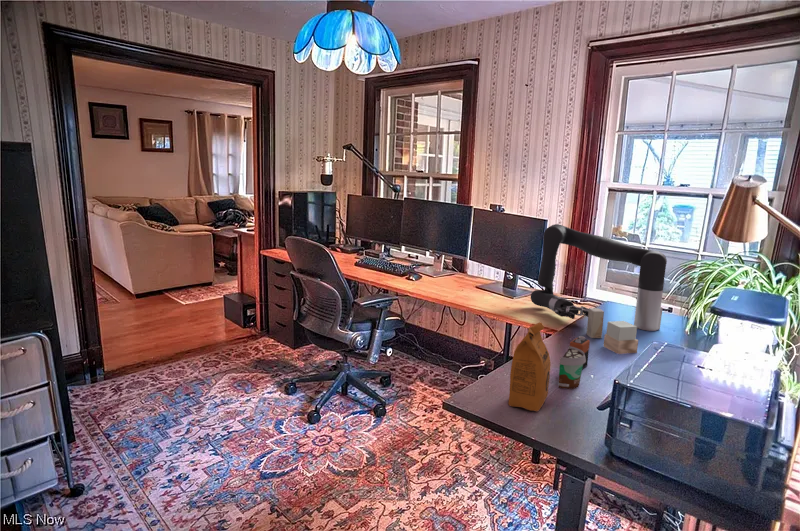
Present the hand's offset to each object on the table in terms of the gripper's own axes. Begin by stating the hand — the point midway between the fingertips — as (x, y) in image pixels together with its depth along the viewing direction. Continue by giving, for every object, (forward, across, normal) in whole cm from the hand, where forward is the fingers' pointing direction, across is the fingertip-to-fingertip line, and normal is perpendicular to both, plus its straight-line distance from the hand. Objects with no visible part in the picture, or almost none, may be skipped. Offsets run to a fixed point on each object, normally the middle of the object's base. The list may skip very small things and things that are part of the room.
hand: (583, 316), depth 189 cm
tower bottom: (+23, 0, +6) cm, 24 cm away
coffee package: (+55, -55, +6) cm, 78 cm away
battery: (+35, -26, +6) cm, 44 cm away
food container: (+47, -36, +6) cm, 59 cm away
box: (+8, 0, +6) cm, 10 cm away
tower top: (+23, 0, +1) cm, 23 cm away
